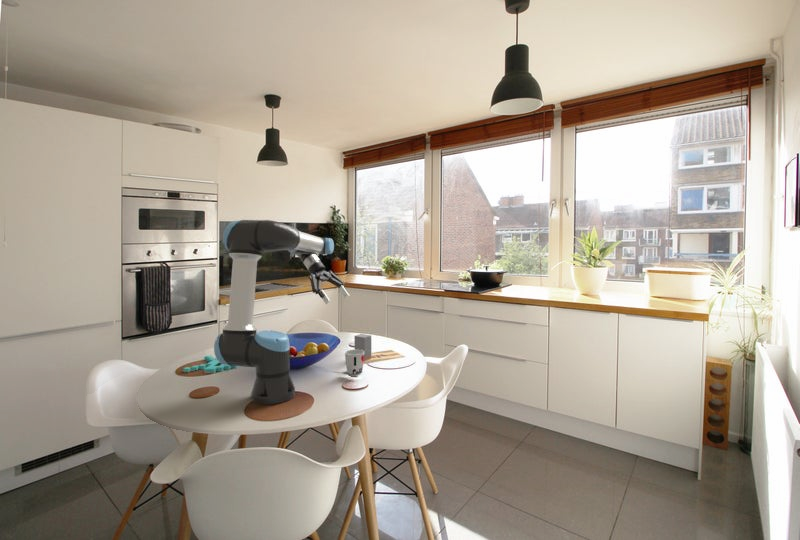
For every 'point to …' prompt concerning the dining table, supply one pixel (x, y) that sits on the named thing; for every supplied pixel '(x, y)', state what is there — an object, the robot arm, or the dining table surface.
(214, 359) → the alien figure
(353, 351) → the cup
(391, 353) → the oak board
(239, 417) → the dining table surface
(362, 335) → the block
